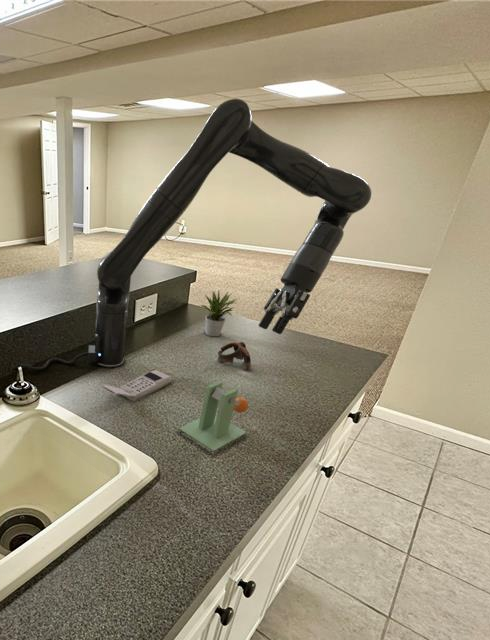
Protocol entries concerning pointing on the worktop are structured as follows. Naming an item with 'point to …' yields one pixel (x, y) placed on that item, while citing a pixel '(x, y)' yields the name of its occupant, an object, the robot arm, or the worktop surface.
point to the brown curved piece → (235, 354)
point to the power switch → (215, 420)
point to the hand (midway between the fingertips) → (268, 330)
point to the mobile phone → (141, 385)
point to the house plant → (216, 314)
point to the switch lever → (240, 403)
